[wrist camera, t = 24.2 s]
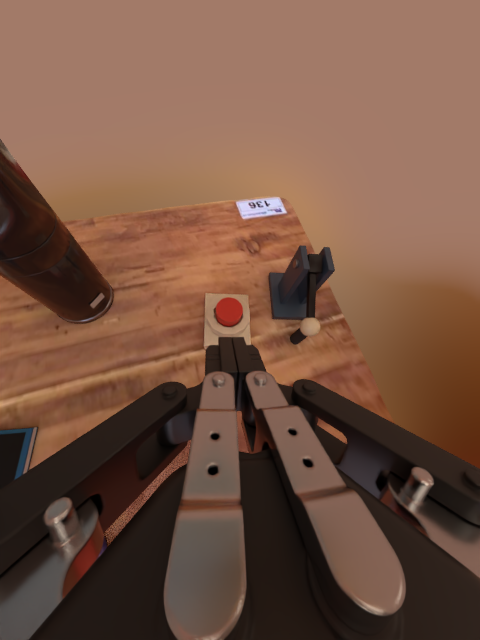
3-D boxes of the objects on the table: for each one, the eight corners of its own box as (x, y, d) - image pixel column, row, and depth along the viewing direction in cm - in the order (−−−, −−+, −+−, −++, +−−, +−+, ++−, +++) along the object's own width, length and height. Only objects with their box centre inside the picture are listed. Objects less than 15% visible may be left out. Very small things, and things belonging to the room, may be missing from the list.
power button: (241, 326, 38) (243, 322, 36) (215, 326, 38) (215, 321, 36) (240, 303, 40) (242, 297, 38) (215, 302, 39) (215, 296, 37)
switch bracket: (311, 320, 45) (348, 286, 33) (272, 319, 44) (296, 284, 32) (304, 277, 49) (335, 234, 37) (268, 275, 48) (288, 230, 36)
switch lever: (314, 335, 39) (323, 337, 36) (296, 335, 38) (304, 337, 35) (317, 258, 38) (327, 254, 35) (299, 257, 38) (307, 252, 35)
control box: (248, 349, 41) (253, 342, 37) (204, 349, 40) (203, 341, 36) (246, 300, 45) (250, 288, 41) (205, 298, 44) (205, 286, 40)
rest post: (300, 344, 43) (312, 335, 38) (290, 344, 43) (301, 335, 38) (299, 334, 44) (310, 324, 39) (289, 334, 43) (299, 324, 39)
